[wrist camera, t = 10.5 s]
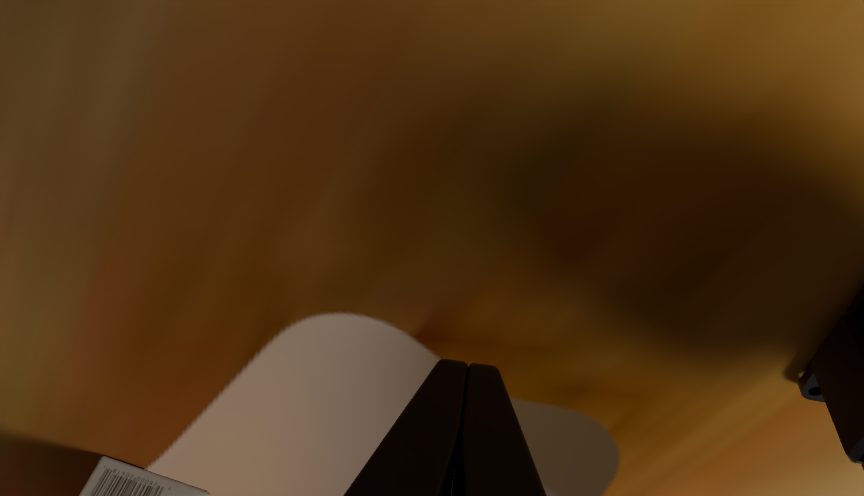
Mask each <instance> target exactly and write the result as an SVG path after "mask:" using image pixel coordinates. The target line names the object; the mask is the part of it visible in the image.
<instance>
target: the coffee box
mask: <svg viewBox="0 0 864 496" xmlns="http://www.w3.org/2000/svg"><path fill="white" fill-rule="evenodd" d="M78 496H210V493H209V492H207V491H206V490H202V489H200V488H197V487H194V486H191V485H187V484H185V483H182V482H179V481H176V480H173V479H170V478H167V477H164V476H161V475H158V474H155V473H152V472H149V471H147V470H144V469H141V468H138V467H135V466H132V465H129V464H126V463H123V462H121V461H118V460H115V459H112V458H109V457H106V456H102V457H101V459H100V460H99V462H98V464H97V466H96V467H95V469H94V471H93V472H92V474H91V476H90V477H89V479H88V481H87V482H86V484H85V486H84V487H83V489H82V490H81V492H80V494H79V495H78Z"/></svg>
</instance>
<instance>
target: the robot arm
mask: <svg viewBox="0 0 864 496" xmlns="http://www.w3.org/2000/svg"><path fill="white" fill-rule="evenodd" d="M467 371H468V373H467ZM466 379H467V380H466ZM798 386H799V389H800V392H801V394H802V396H803V397H804V398H806V399H809V400H815V401H820V402H825V403H826V405H827V408H828V410H829V413H830V415H831V418H832V420H833V423H834V425H835V428H836V430H837V433H838V436H839V438H840V441H841V443H842V446H843V448H844V451H845V453H846V455H847V456H848V458H849V459H850V460H851V462H854V463H860V464H861V465H862V467H863V470H864V286H863V287H862V289H861V290H860V292H859V293H858V295H857V296H856V298H855V299H854V301H853V302H852V304H851V305H850V306H849V308H848V309H847V311H846V312H845V314H844V315H843V316H841V318H840V319H839V321H838V322H837V324H836V325H835V327H834V328H833V329H832V331H831V332H830V334H829V335H828V337H827V338H826V340H825V341H824V343H823V344H822V346H821V347H820V349H819V350H818V352H817V353H816V355H815V356H814V357H813V359H812V360H811V362H810V365H809V367H808V368H807V370H806V371H805V373H804V374H803V376H802V377H801V378H800V380H799V382H798ZM454 470H455V471H454ZM453 477H454V478H453ZM452 484H453V486H452ZM451 491H452V494H451ZM344 496H547V495H546V493H545V490H544V488H543V485H542V483H541V480H540V477H539V475H538V472H537V469H536V467H535V464H534V461H533V459H532V456H531V453H530V451H529V448H528V445H527V443H526V440H525V438H524V435H523V432H522V430H521V427H520V424H519V422H518V419H517V417H516V414H515V411H514V409H513V406H512V403H511V401H510V398H509V395H508V393H507V390H506V388H505V385H504V382H503V380H502V377H501V374H500V372H499V370H498V369H497V368H496V367H495V366H491V365H484V364H477V363H472V364H470V365H469V367H468V365H467V363H465V362H463V361H456V360H449V359H441V360H439V361H438V362H437V364H436V365H435V366H434V368H433V369H432V371H431V372H430V374H429V375H428V376H427V378H426V379H425V381H424V382H423V384H422V385H421V386H420V388H419V389H418V391H417V392H416V393H415V395H414V396H413V398H412V399H411V401H410V402H409V403H408V405H407V406H406V408H405V409H404V411H403V412H402V413H401V415H400V416H399V418H398V419H397V420H396V422H395V424H394V425H393V426H392V428H391V429H390V430H389V432H388V433H387V435H386V436H385V437H384V439H383V440H382V442H381V443H380V445H379V446H378V448H377V449H376V450H375V452H374V453H373V455H372V456H371V457H370V459H369V460H368V462H367V463H366V464H365V466H364V467H363V469H362V470H361V472H360V473H359V474H358V476H357V477H356V479H355V480H354V482H353V483H352V484H351V486H350V487H349V489H348V490H347V491H346V493H345V494H344Z"/></svg>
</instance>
